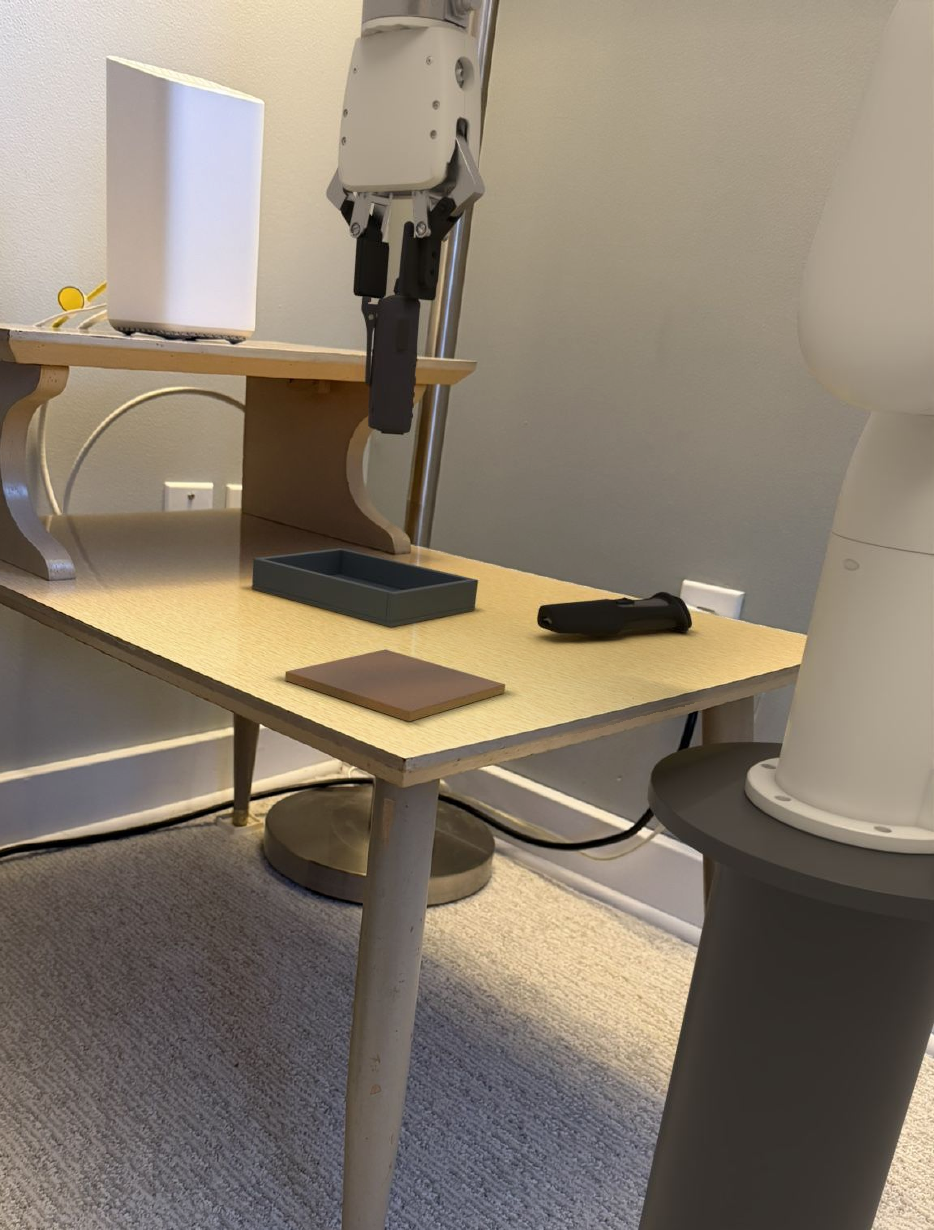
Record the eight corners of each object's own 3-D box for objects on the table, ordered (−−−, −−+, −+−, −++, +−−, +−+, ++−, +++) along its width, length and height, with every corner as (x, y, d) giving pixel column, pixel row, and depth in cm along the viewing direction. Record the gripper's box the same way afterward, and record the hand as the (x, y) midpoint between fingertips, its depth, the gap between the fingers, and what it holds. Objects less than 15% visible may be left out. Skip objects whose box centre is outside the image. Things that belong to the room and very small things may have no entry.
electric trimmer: (521, 637, 90) (526, 597, 89) (660, 622, 99) (666, 585, 97) (554, 650, 88) (560, 608, 86) (694, 633, 96) (701, 595, 95)
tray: (474, 610, 97) (478, 579, 96) (391, 627, 89) (394, 593, 88) (338, 576, 106) (341, 547, 105) (251, 588, 98) (253, 558, 97)
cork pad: (504, 693, 75) (505, 684, 74) (408, 721, 67) (409, 712, 67) (384, 657, 81) (385, 649, 80) (284, 680, 73) (285, 671, 73)
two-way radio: (414, 436, 89) (431, 220, 84) (356, 432, 88) (370, 215, 83) (405, 431, 94) (421, 227, 89) (351, 428, 94) (363, 223, 88)
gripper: (546, 16, 79) (514, 305, 85) (359, 41, 89) (343, 299, 95) (482, -15, 74) (454, 296, 80) (292, 16, 84) (279, 291, 90)
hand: (394, 295), depth 88 cm, fingers closed on two-way radio, 4 cm apart
